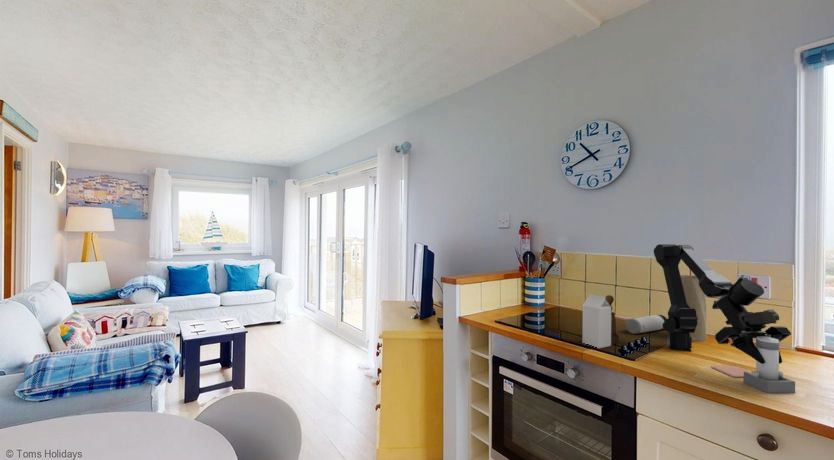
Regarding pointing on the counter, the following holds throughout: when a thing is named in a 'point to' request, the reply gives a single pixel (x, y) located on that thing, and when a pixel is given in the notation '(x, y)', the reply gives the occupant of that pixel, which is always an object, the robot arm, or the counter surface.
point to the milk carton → (597, 321)
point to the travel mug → (645, 324)
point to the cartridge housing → (770, 383)
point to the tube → (696, 305)
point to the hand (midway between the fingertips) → (772, 363)
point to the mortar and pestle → (612, 321)
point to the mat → (731, 371)
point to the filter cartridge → (768, 358)
